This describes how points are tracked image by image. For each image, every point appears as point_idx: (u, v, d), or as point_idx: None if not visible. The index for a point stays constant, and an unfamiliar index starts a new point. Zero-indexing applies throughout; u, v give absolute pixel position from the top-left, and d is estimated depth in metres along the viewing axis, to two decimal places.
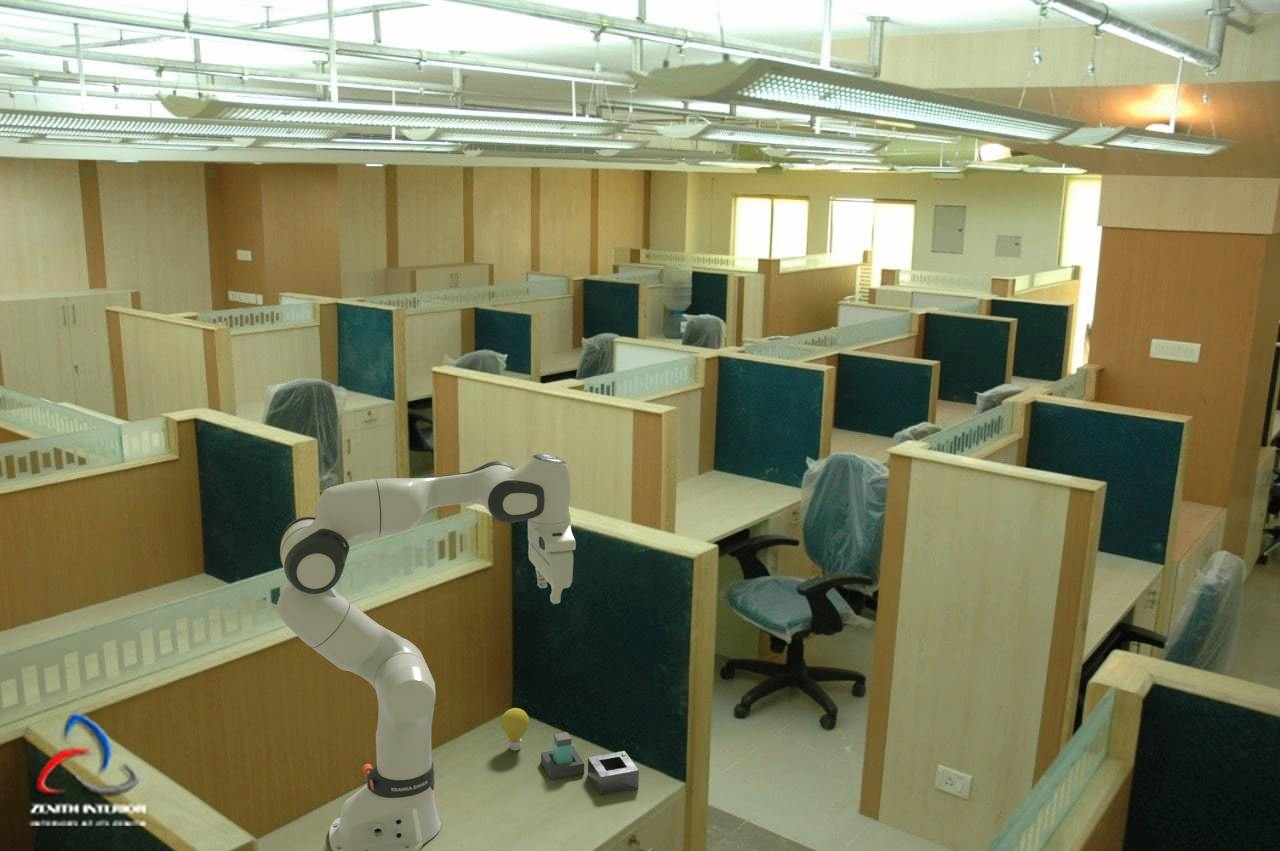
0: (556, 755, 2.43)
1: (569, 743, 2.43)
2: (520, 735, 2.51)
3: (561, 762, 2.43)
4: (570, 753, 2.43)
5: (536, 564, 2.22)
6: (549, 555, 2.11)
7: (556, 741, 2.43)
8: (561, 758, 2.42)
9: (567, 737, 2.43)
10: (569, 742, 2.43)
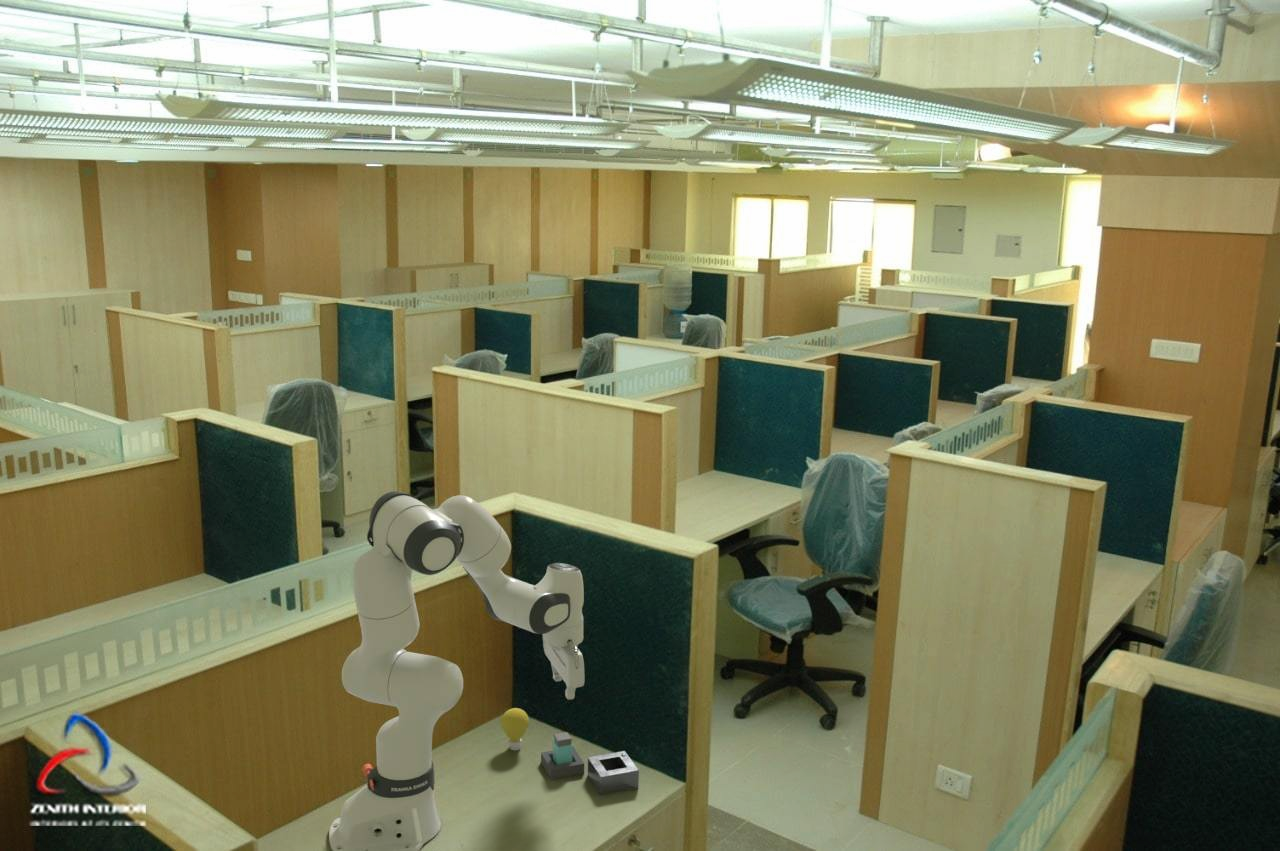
0: (556, 755, 2.43)
1: (569, 743, 2.43)
2: (520, 735, 2.51)
3: (561, 762, 2.43)
4: (570, 753, 2.43)
5: None
6: None
7: (556, 741, 2.43)
8: (561, 758, 2.42)
9: (567, 737, 2.43)
10: (569, 742, 2.43)
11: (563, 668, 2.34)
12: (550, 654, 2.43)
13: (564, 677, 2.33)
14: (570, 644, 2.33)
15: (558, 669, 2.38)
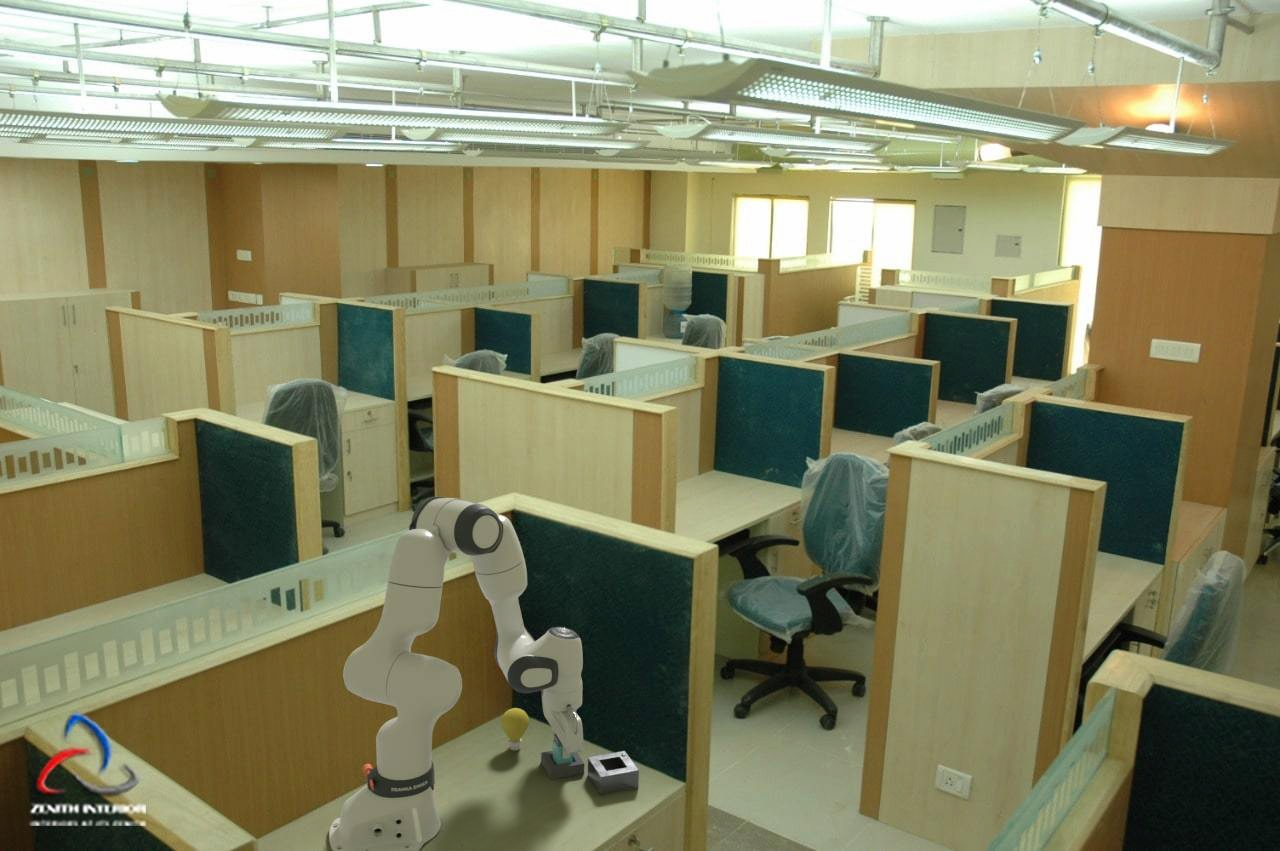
0: (556, 755, 2.43)
1: None
2: (520, 735, 2.51)
3: (561, 762, 2.43)
4: (570, 753, 2.43)
5: None
6: None
7: (556, 741, 2.43)
8: (561, 758, 2.42)
9: None
10: None
11: (562, 733, 2.37)
12: (549, 716, 2.47)
13: (563, 742, 2.37)
14: (569, 709, 2.36)
15: (557, 733, 2.41)
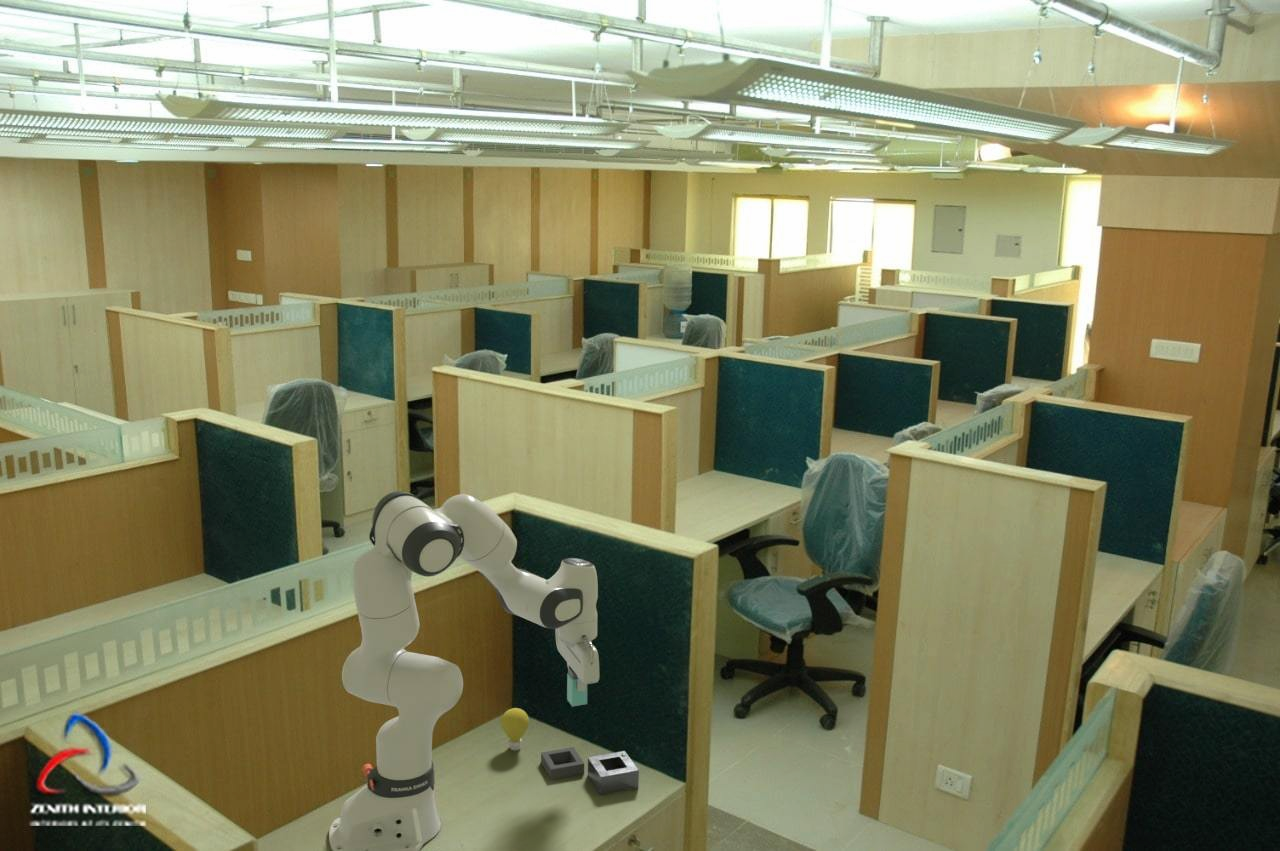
0: (571, 688, 2.38)
1: None
2: (520, 735, 2.51)
3: (576, 695, 2.38)
4: None
5: None
6: None
7: (571, 674, 2.38)
8: (576, 691, 2.38)
9: None
10: None
11: (577, 664, 2.32)
12: (563, 650, 2.42)
13: (578, 673, 2.32)
14: (585, 640, 2.31)
15: (572, 665, 2.36)
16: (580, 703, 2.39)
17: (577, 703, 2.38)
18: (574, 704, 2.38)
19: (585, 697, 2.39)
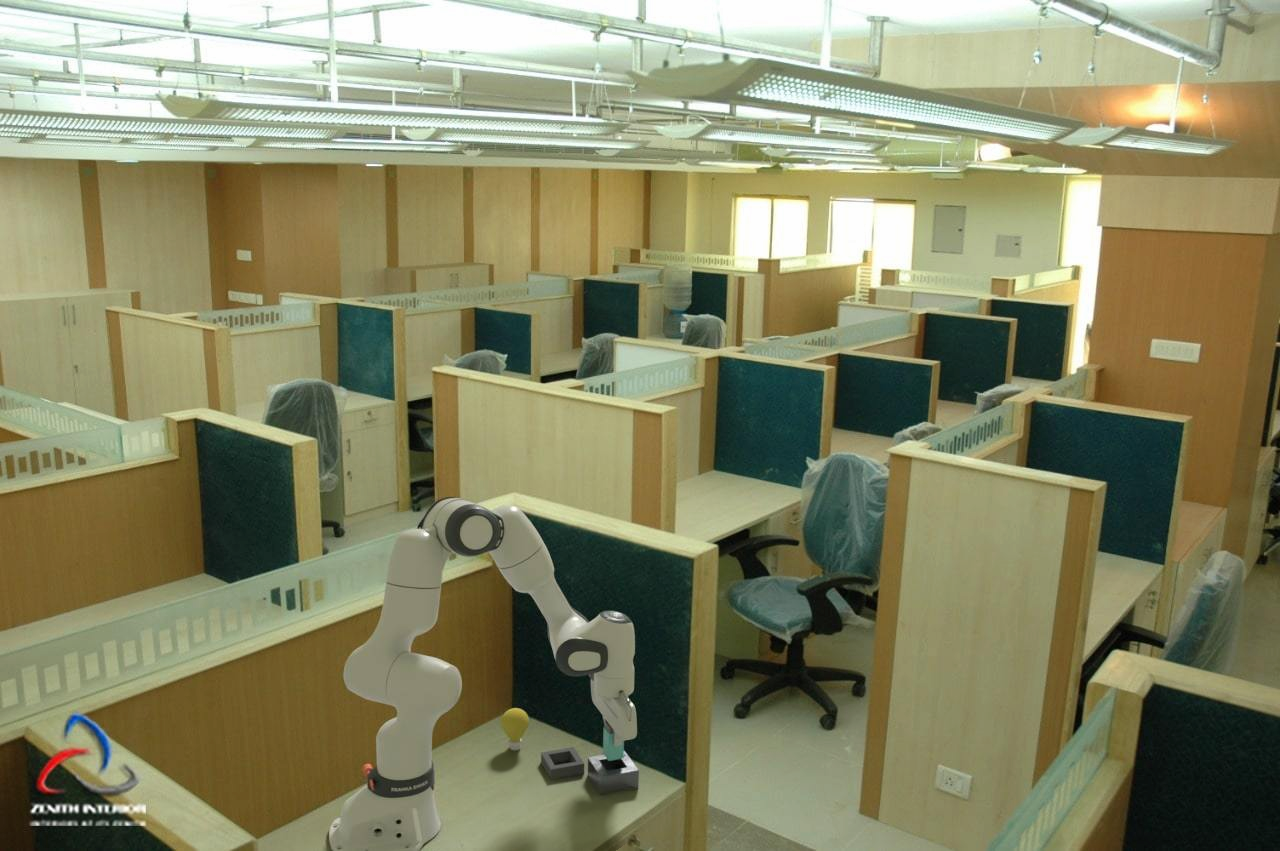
0: (607, 742, 2.36)
1: None
2: (520, 735, 2.51)
3: (612, 750, 2.36)
4: None
5: None
6: None
7: (607, 728, 2.36)
8: (612, 746, 2.36)
9: None
10: None
11: (614, 719, 2.31)
12: (599, 703, 2.40)
13: (616, 729, 2.30)
14: (622, 695, 2.29)
15: (608, 720, 2.34)
16: (616, 757, 2.37)
17: (613, 757, 2.37)
18: (610, 758, 2.37)
19: (621, 751, 2.37)
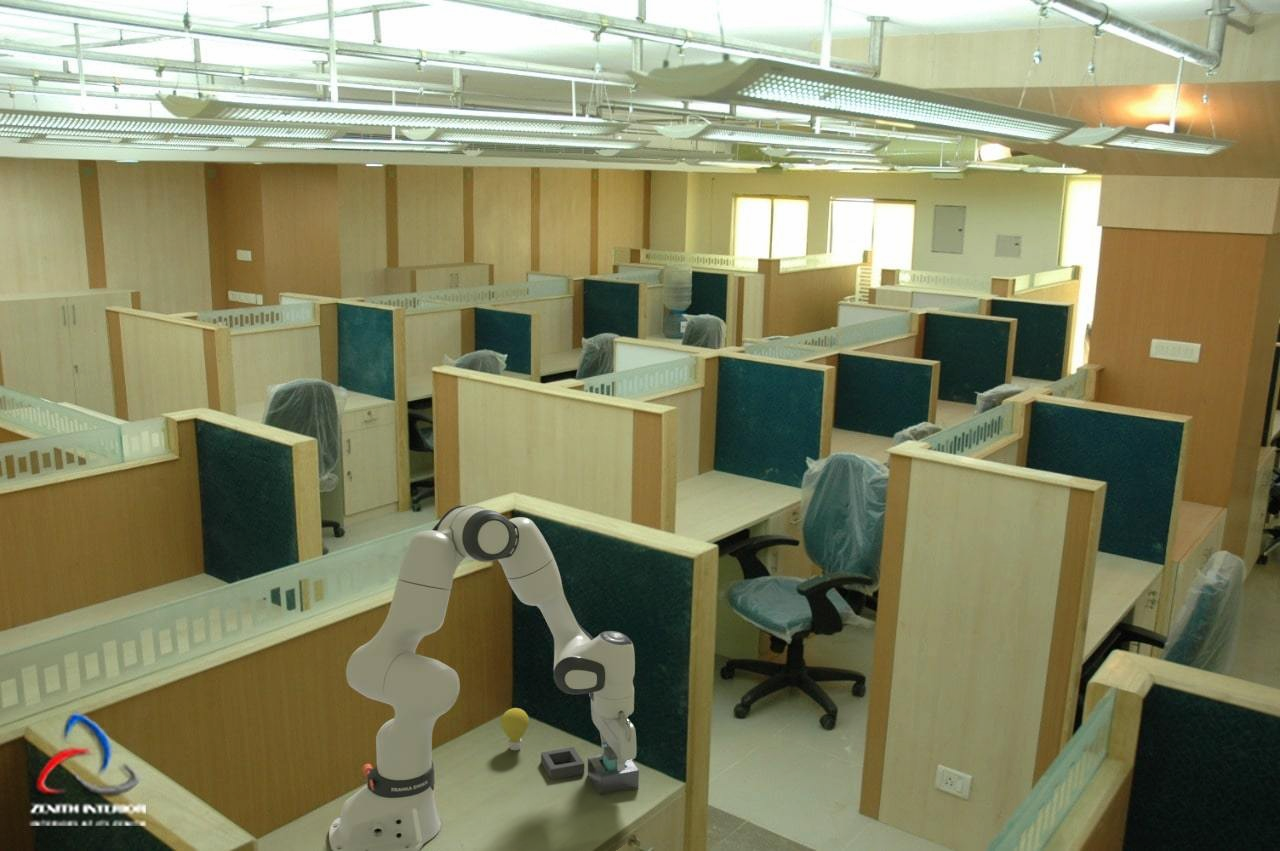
0: (607, 769, 2.37)
1: None
2: (520, 735, 2.51)
3: None
4: None
5: None
6: None
7: (607, 754, 2.37)
8: None
9: None
10: None
11: (614, 740, 2.32)
12: (599, 723, 2.41)
13: (615, 749, 2.31)
14: (622, 716, 2.30)
15: (608, 740, 2.35)
16: None
17: None
18: None
19: None
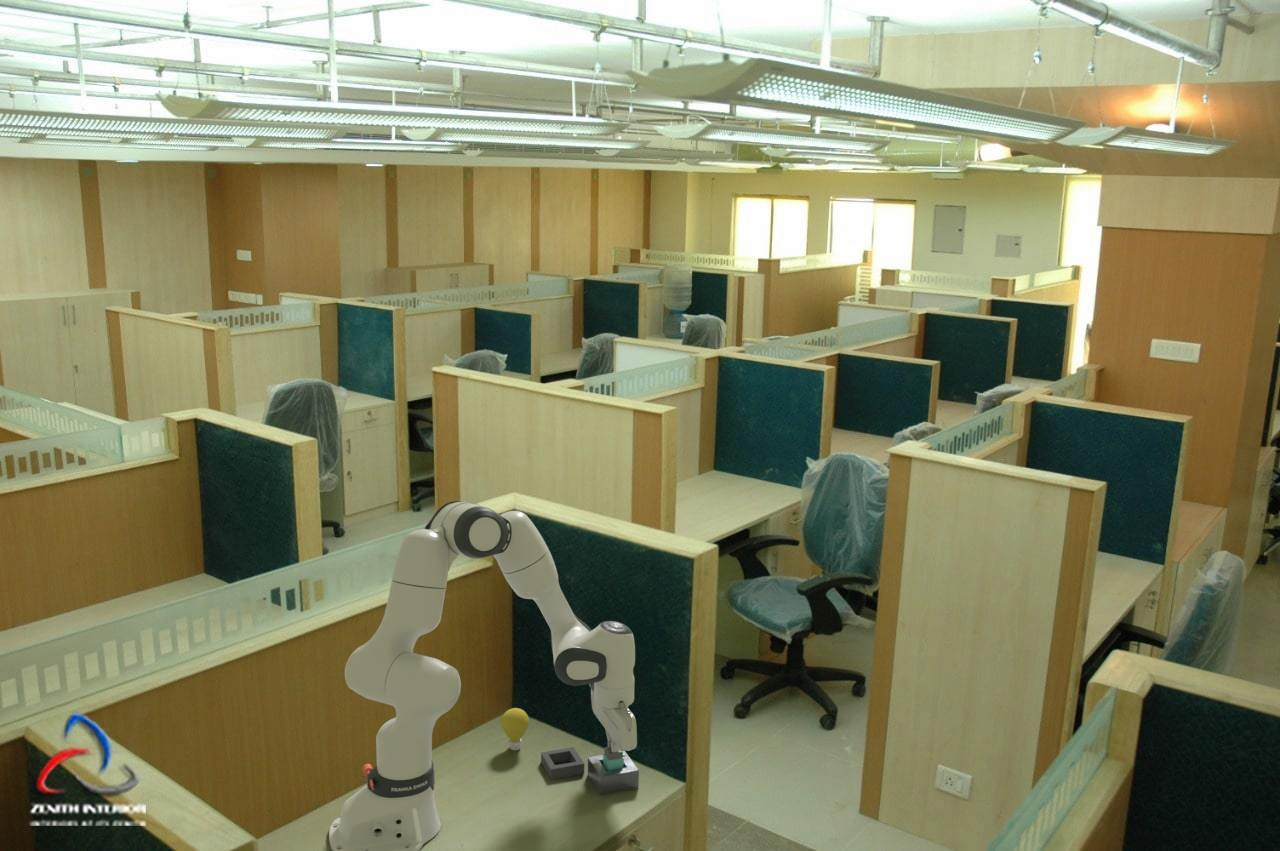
0: (607, 769, 2.37)
1: (620, 756, 2.37)
2: (520, 735, 2.51)
3: None
4: (621, 767, 2.38)
5: None
6: None
7: (607, 754, 2.37)
8: None
9: None
10: (620, 755, 2.37)
11: (614, 730, 2.31)
12: (599, 713, 2.40)
13: (616, 739, 2.31)
14: (622, 706, 2.30)
15: (609, 730, 2.35)
16: None
17: None
18: None
19: None
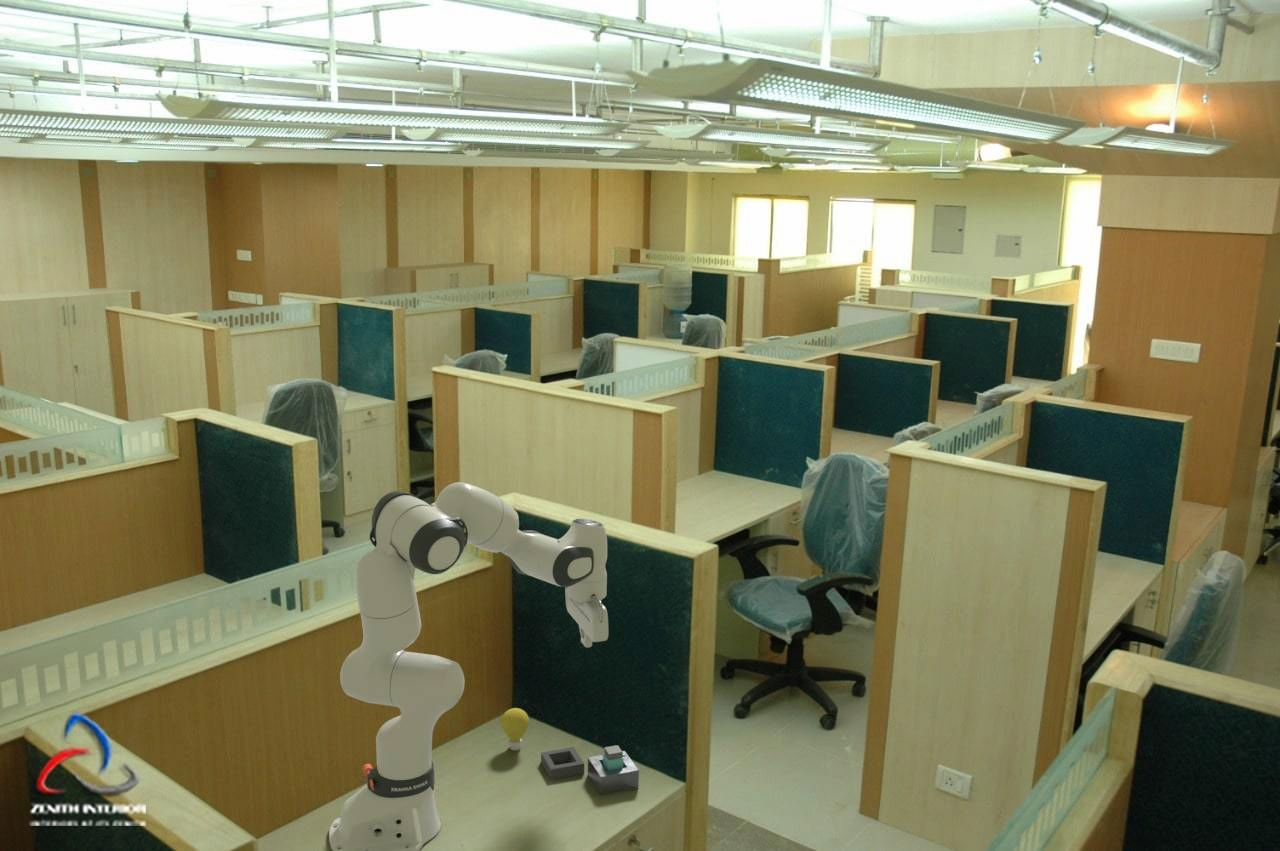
0: (607, 769, 2.37)
1: (620, 756, 2.37)
2: (520, 735, 2.51)
3: None
4: (621, 767, 2.38)
5: None
6: None
7: (607, 754, 2.37)
8: None
9: (618, 750, 2.38)
10: (620, 755, 2.37)
11: (587, 623, 2.36)
12: (573, 610, 2.45)
13: (588, 631, 2.35)
14: (594, 598, 2.34)
15: (581, 624, 2.39)
16: None
17: None
18: None
19: None
